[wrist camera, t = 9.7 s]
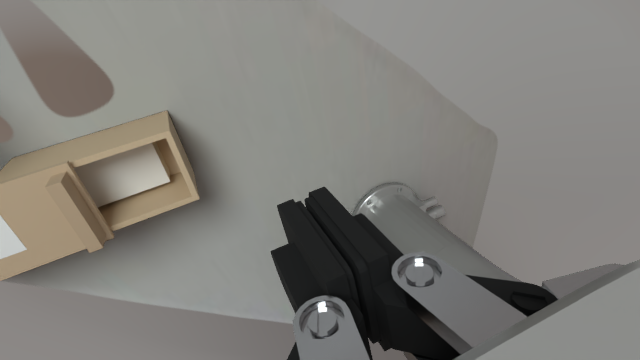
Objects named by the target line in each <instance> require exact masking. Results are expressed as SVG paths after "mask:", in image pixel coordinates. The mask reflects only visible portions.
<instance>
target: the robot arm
mask: <svg viewBox="0 0 640 360" xmlns="http://www.w3.org/2000/svg"><path fill="white" fill-rule="evenodd" d="M436 204H438V201H437V199H436V198H435V197H431V198H429V199H427V200H426V201H419V199H418V197H417V195H416V193H415V192H414V191H413V190H412V189H410V188H409V187H408V186H406V185H403V184H400V183H388V184H383V185H381V186H379V187H376V188H375V189H373V190H372V191H370V192H369V193H368V194H367V195H365V196H364V198H363V199H362V200H361V201H360V202H359V204H358V205H357V207H356V209H355V211H354V213H353V216H352V215H351V214H350V213H349V212H348V211H347V210H346V209H345V208H344V207H343V206H342V205H341V204H340V202H339V201H338V200H337V199H336V198H335V197H334V196H333V195H332V194H331V193H330V192H329V191H328V190H327V189H326V188H325V187H322V188H319V189H317V190H314V191H312V192H309V197H308V198H306V199H305V205H306V207H305V206H304V205H303V203H302V202H301V201H298V202H295V201H294V200H293V199H292V200H289V201H287V202H284V203H282V204H279V205H277V208H278V211H279V215H280V218H281V221H282V224H283V227H284V230H285V233H286V236H287V240H288V243H289V244H287V245H284V246H282V247H279V248H277V249H275V250H272V251H271V255H272V258H273V261H274V263H275V266H276V269H277V272H278V274H279V277H280V280H281V282H282V284H283V287H284V289H285V292H286V294H287V296H288V298H289V300H290V303H291V305H292V307H293V309H294V311H295V317H294V320H293V329H294V333H295V338H296V342H295V345H294V347H293V349H292V351H291V353H290V355H289V357H288V359H287V360H373V359H372V355H371V350H370V346H369V341H368V338H369V339H370V341H371V342H372V343H373V344H374V343H376V342H379V343H380V345H381V346H382V348H383V349H384V351H386V350H388V349H390V348H393V349H395V350H400V351H403V352H404V355H405V357H406V358H407V360H640V260H638V261H635V262H632V263H629V264H627V265H620V264H609V265H603V266H599V267H596V268H592V269H589V270H584V271H581V272H577V273H573V274H569V275H566V276H562V277H558V278H554V279H551V280H547V281H543V283H542V286H541V287H540V286H537V285H534V284H529V283H524V282H522V281H520V280H518V279H517V278H515V277H513V276H511V275H510V274H508V273H506V272H505V271H503V270H502V269H500V268H499V267H497V266H496V265H495V264H493V263H492V262H490V261H489V260H488V259H486V258H485V257H483V256H482V255H481V254H479V253H478V252H477V251H475V250H474V249H473V248H471V247H470V246H469V245H468V244H466V243H465V242H464V241H462V240H461V239H460V238H458V237H457V236H456V235H455V234H453V233H452V232H451V231H449V230H448V229H447V228H445V227H444V226H443V225H442V224H440V223H439V222H438V221H436V220H435V219H438V218H440V217H442V216H444V215H445V209H444V208H443V207H442V206H441V205H438V206H436V207H434V208H431V209H430V210H428V211H426V208H429V207H432V206H434V205H436ZM306 208H307V209H306Z"/></svg>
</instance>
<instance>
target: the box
mask: <svg viewBox="0 0 640 360" xmlns="http://www.w3.org/2000/svg"><path fill="white" fill-rule="evenodd" d="M65 161H69V162H70V164H71V166H72V167H73V169H74V170H75V172H76V174H77V175H78V177H79V179H80V180H81V182H82V183H83V185H84V187H85V188H86V190H87V191H88V193H89V195H90V196H91V198H92V200H93V201H94V203H95V204H96V206H97V208H98V209H99V211H100V213H101V214H102V216H103V217H104V219H105V221H106V222H107V224H108V226H109V227H110V229H111V230H112V231H115V230H118V229H120V228H123V227H126V226H129V225H131V224H134V223H137V222H139V221H142V220H145V219H147V218H150V217H153V216H155V215H158V214H161V213H163V212H166V211H169V210H172V209H174V208H177V207H180V206H182V205H185V204H188V203H190V202H193V201H196V200H198V199H200V198H199V193H198V189H197V185H196V180H195V176H194V172H193V169H192V167H191V164H190V162H189V160H188V157H187V155H186V153H185V150H184V148H183V146H182V143H181V141H180V139H179V136H178V134H177V132H176V130H175V127H174V125H173V123H172V120H171V118H170V116H169V113H168V111H164V112H160V113H157V114H154V115H151V116H147V117H144V118H141V119H138V120H134V121H131V122H128V123H125V124H121V125H118V126H115V127H112V128H108V129H105V130H102V131H98V132H95V133H92V134H89V135H85V136H82V137H79V138H76V139H72V140H69V141H66V142H63V143H59V144H56V145H53V146H50V147H46V148H43V149H40V150H37V151H33V152H30V153H27V154H24V155H20V156H17V157H14V158H12V159H11V160H10V161H9V162H8V163H7V164H6V165H5V166H4V167H3V169H2V170H1V171H0V182H2V181H5V180H8V179H11V178H15V177H18V176H21V175H24V174H27V173H30V172H33V171H36V170H40V169H43V168H46V167H49V166H52V165H55V164H58V163H62V162H65Z"/></svg>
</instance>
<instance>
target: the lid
mask: <svg viewBox="0 0 640 360" xmlns="http://www.w3.org/2000/svg"><path fill="white" fill-rule="evenodd" d="M113 238H114V234H113V232H112V230H111V229H110V227H109V226H108V224H107V222H106V221H105V219H104V217H103V216H102V214H101V213H100V211H99V209H98V208H97V206H96V204H95V203H94V201H93V200H92V198H91V196H90V195H89V193H88V191H87V190H86V188H85V187H84V185H83V183H82V182H81V180H80V179H79V177H78V175H77V174H76V172H75V170H74V169H73V167H72V166H71V164H70V162H69V161H65V162H62V163H58V164H55V165H52V166H49V167H46V168H43V169H40V170H36V171H33V172H30V173H27V174H24V175H21V176H18V177H15V178H11V179H8V180H5V181H2V182H0V281H2V280H4V279H7V278H10V277H12V276H15V275H17V274H20V273H23V272H25V271H28V270H31V269H33V268H36V267H39V266H41V265H44V264H47V263H49V262H52V261H55V260H57V259H60V258H63V257H65V256H68V255H71V254H73V253H76V252H79V251H81V250H84V249H87V250H88V251H89V253H91V252H94V251H96V250H99V249H102V248H103V247H104V242H105V241H108V240H110V239H113Z"/></svg>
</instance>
